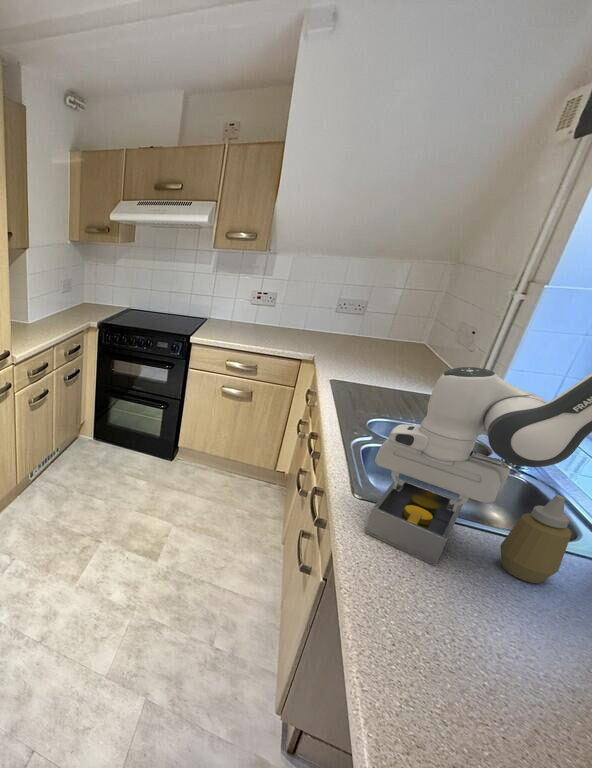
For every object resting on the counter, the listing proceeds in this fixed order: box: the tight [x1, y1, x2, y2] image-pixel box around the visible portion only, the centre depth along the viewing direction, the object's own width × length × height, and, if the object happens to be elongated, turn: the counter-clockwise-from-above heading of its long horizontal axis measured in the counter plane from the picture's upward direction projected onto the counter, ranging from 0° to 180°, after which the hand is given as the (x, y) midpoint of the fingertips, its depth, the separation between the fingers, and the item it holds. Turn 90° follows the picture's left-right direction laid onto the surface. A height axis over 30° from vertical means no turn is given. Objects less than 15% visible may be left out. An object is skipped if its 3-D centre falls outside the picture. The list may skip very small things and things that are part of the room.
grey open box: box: [364, 478, 464, 567], centre depth 92 cm, size 19×13×7 cm
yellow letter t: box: [403, 505, 433, 525], centre depth 93 cm, size 5×14×2 cm, turn 131°
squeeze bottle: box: [499, 494, 572, 584], centre depth 79 cm, size 8×8×18 cm
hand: (423, 499), depth 90 cm, fingers open, 8 cm apart
